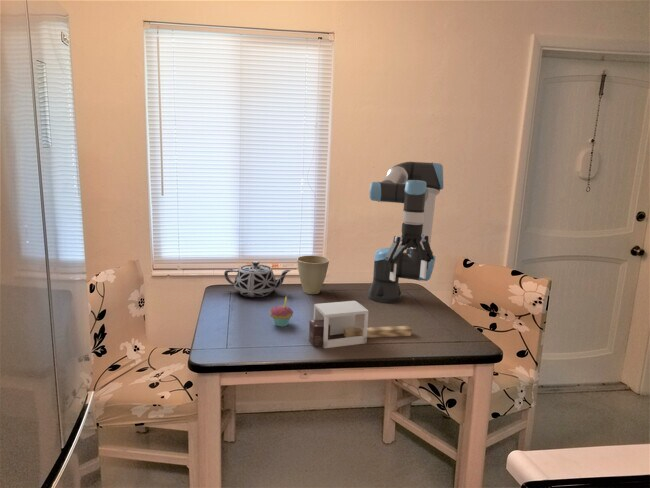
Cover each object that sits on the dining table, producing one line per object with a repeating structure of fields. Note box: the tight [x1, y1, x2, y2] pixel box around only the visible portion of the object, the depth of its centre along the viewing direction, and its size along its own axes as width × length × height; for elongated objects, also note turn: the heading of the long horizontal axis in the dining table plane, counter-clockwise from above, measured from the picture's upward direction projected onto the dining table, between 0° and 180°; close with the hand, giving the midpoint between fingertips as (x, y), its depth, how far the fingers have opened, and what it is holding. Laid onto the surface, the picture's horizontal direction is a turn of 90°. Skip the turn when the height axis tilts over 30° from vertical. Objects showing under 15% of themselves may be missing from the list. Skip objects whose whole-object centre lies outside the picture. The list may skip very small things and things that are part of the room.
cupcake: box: [269, 295, 294, 327], centre depth 172 cm, size 9×8×12 cm
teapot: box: [223, 260, 292, 298], centre depth 207 cm, size 19×31×15 cm, turn 88°
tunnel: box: [313, 300, 369, 349], centre depth 161 cm, size 16×11×12 cm
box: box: [308, 319, 331, 347], centre depth 158 cm, size 6×6×7 cm
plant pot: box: [296, 255, 330, 295], centre depth 213 cm, size 15×15×16 cm
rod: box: [343, 325, 413, 339], centre depth 167 cm, size 25×3×3 cm, turn 102°
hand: (407, 279), depth 170 cm, fingers open, 13 cm apart
